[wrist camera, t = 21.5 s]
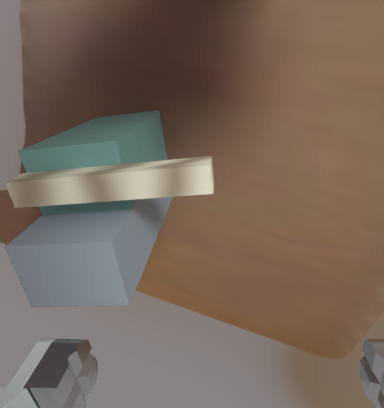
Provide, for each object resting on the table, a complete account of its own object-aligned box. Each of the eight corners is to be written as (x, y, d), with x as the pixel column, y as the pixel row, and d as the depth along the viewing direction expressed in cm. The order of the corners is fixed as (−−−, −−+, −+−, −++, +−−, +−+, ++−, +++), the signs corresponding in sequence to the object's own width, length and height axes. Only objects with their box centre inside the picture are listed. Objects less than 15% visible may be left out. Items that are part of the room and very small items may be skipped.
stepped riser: (159, 110, 45) (89, 160, 22) (173, 196, 50) (129, 305, 28) (96, 117, 46) (-30, 171, 24) (117, 200, 52) (31, 306, 29)
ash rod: (211, 156, 27) (210, 164, 25) (214, 182, 28) (213, 193, 26) (22, 173, 30) (4, 182, 28) (31, 197, 31) (15, 208, 29)
